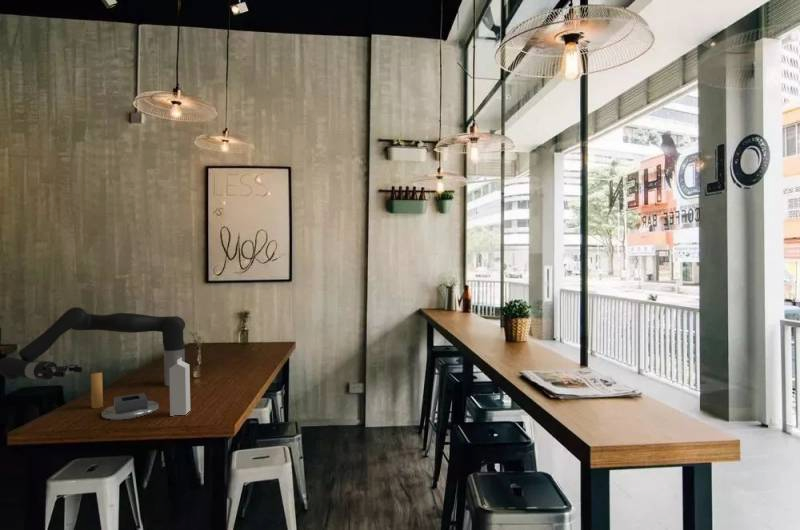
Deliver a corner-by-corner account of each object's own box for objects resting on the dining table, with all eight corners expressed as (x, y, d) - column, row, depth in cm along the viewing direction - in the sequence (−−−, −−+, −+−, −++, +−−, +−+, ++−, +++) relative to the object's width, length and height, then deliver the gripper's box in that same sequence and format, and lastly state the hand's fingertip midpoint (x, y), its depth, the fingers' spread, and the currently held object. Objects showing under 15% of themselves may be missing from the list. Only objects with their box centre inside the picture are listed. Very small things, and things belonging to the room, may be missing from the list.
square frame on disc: (155, 401, 206) (154, 388, 206) (161, 413, 189) (161, 399, 189) (100, 410, 195) (100, 396, 195) (102, 423, 178) (102, 409, 178)
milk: (190, 411, 192) (189, 356, 192) (186, 415, 186) (185, 359, 186) (174, 412, 191) (173, 357, 191) (169, 416, 185) (169, 360, 185)
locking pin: (102, 405, 202) (102, 372, 202) (103, 407, 199) (102, 373, 198) (91, 406, 200) (90, 373, 200) (91, 409, 196) (91, 375, 196)
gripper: (25, 364, 197) (58, 366, 194) (56, 358, 211) (87, 359, 208) (25, 383, 197) (58, 385, 194) (56, 375, 211) (87, 376, 208)
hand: (73, 371), depth 201 cm, fingers open, 8 cm apart
